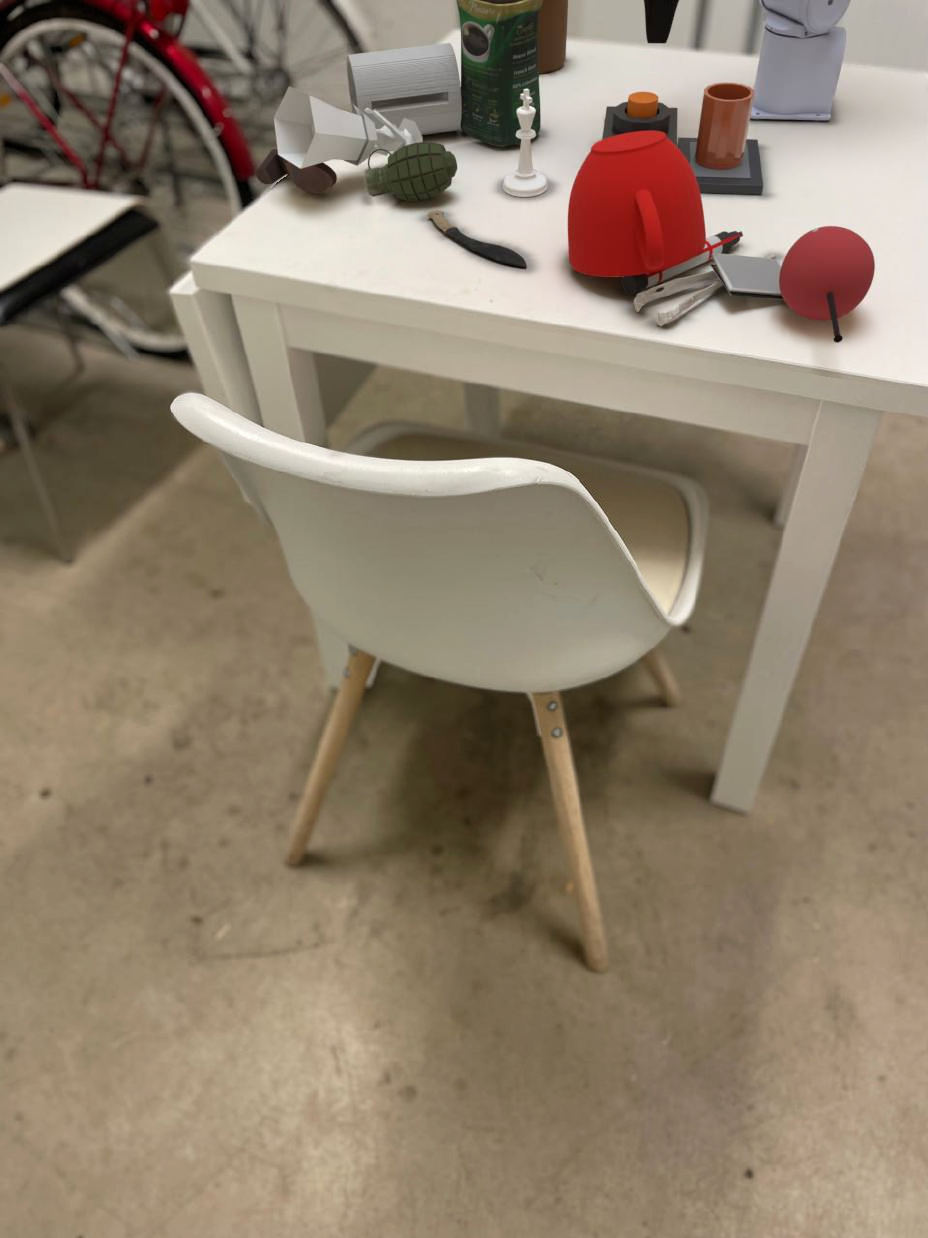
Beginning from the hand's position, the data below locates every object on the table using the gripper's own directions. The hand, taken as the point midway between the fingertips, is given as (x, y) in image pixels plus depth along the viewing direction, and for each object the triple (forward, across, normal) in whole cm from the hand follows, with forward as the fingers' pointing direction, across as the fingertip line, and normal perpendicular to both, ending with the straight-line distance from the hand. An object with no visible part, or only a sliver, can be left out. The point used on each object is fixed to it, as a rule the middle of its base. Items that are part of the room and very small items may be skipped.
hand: (656, 41), depth 105 cm
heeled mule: (+8, +17, -39) cm, 43 cm away
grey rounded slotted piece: (+6, +2, -35) cm, 35 cm away
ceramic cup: (-2, +31, -2) cm, 31 cm away
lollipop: (+6, +49, +15) cm, 52 cm away
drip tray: (+10, +8, +8) cm, 15 cm away
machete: (+11, +25, -15) cm, 31 cm away
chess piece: (+10, +14, -13) cm, 22 cm away
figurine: (+2, +19, -37) cm, 42 cm away
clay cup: (+9, +8, +8) cm, 14 cm away
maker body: (+10, +8, -1) cm, 13 cm away
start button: (+5, +8, -1) cm, 9 cm away
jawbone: (+11, +34, +7) cm, 36 cm away
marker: (+10, +31, +5) cm, 33 cm away
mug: (+10, -22, -17) cm, 30 cm away
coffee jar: (+10, 0, -18) cm, 21 cm away
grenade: (+7, +16, -20) cm, 26 cm away
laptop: (+7, +34, +11) cm, 37 cm away
